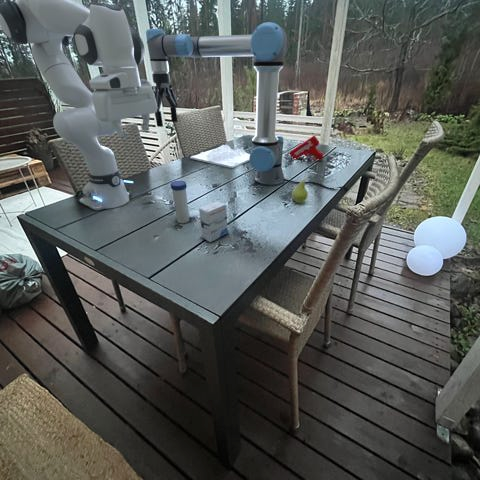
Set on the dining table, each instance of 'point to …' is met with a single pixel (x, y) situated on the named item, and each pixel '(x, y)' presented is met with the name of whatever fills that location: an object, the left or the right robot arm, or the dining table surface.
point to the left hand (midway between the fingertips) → (134, 133)
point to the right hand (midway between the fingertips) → (167, 124)
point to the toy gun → (307, 149)
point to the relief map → (223, 156)
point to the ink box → (213, 221)
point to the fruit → (300, 192)
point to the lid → (178, 185)
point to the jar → (181, 205)
